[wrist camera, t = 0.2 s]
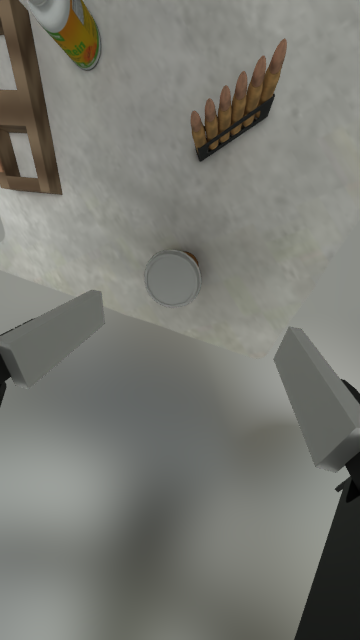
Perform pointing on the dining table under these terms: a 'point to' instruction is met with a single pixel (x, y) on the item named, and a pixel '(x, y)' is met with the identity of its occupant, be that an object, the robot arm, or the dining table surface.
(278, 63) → the ammunition clip
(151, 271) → the disposable coffee cup
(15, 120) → the rack
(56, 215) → the dining table surface
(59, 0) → the supplement bottle
